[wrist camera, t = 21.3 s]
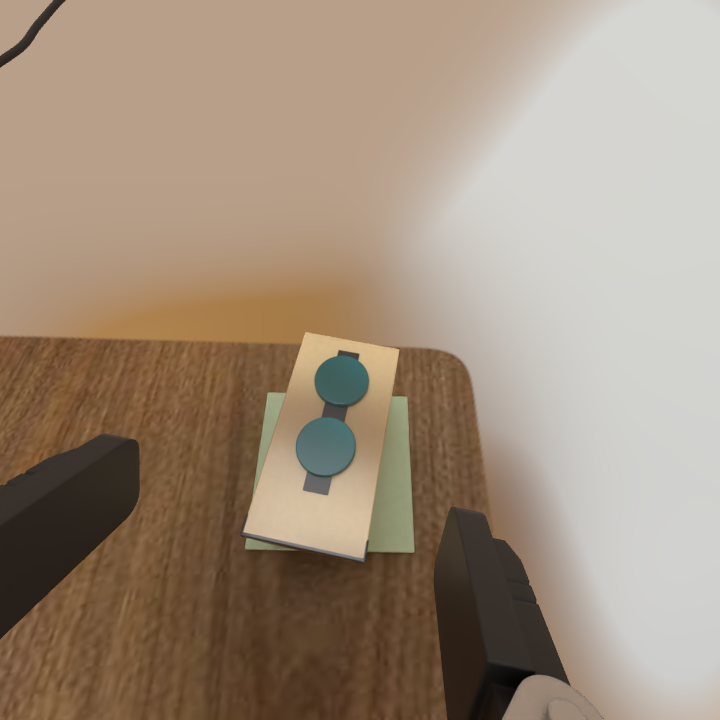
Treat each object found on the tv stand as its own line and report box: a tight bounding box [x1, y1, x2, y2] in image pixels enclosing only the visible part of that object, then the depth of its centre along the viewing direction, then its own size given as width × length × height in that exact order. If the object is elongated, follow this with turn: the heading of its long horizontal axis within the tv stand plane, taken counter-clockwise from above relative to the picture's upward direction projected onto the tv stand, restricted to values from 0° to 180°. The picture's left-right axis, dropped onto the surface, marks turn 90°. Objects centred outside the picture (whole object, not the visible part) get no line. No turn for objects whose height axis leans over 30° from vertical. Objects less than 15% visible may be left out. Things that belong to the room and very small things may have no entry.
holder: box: [240, 332, 399, 564], centre depth 19 cm, size 9×5×7 cm, turn 169°
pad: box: [245, 392, 414, 553], centre depth 22 cm, size 9×9×1 cm
